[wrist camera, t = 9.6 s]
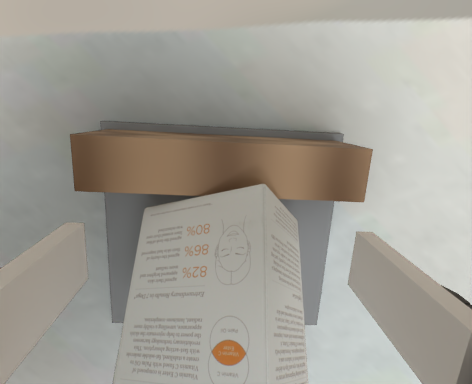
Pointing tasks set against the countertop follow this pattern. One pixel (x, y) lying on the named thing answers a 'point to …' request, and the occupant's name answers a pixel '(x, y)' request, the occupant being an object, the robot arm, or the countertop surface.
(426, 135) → the countertop surface
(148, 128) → the mat
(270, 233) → the small box
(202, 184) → the rail
